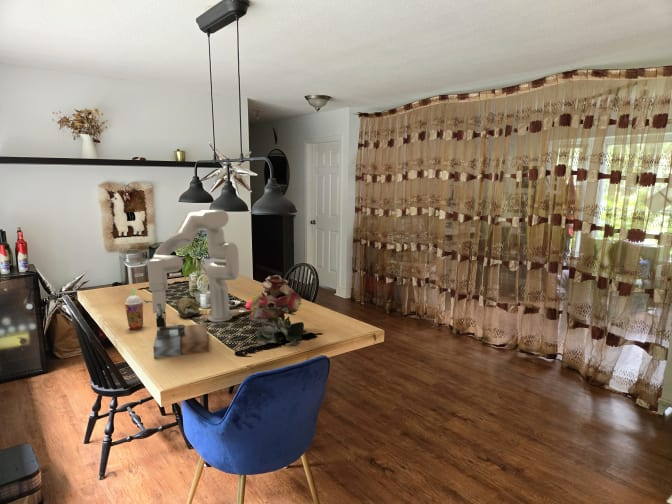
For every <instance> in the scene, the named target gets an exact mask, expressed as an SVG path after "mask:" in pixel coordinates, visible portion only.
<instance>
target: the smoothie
mask: <svg viewBox="0 0 672 504" xmlns="http://www.w3.org/2000/svg"><path fill="white" fill-rule="evenodd" d="M134 291H135V290H134V289H132V290H131V293H132V294H131V295H130V296H128V297H127V298H126V300H125V302H124V307H125V312H126V313H125V314H126V317H127V318H126V319H127V323H128V327H129V329H130V330H139V329H140V330H141V329H142V327H143V326H144V308H143V307H144V303H143V302H144V301H143V300H142V298H141V297H140V296H139V295H136V294H134V293H135V292H134Z"/></svg>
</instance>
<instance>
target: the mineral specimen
mask: <svg viewBox="0 0 672 504" xmlns="http://www.w3.org/2000/svg"><path fill="white" fill-rule="evenodd" d="M175 306H176V308H175V309H176V311H177V312H178V314H179V317H181V318H189V317H192V316H195V315H198V314H200V313H201V310H200V309H199V308H200V307H201V306H200V303H199V302H197V301H193V299H191V298H189V297H183V298H181V299H180V300H178V301H177V303H175Z"/></svg>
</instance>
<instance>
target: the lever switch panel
mask: <svg viewBox="0 0 672 504" xmlns="http://www.w3.org/2000/svg"><path fill="white" fill-rule="evenodd" d="M207 332H208V330H207V323H197V324H188V325H185V328H184V329H176V330H169V329H165V330H159V329H158V328H157V330H156V333H155V339H154V341H153V346H152V347H153V358H154V359H160V358H161V359H162V358H168V357H175V356H182V355H189V354H190V355H191V354H197V353H205V352H209V341H208V339H209V338H208V333H207Z"/></svg>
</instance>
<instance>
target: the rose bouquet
mask: <svg viewBox="0 0 672 504" xmlns="http://www.w3.org/2000/svg"><path fill="white" fill-rule="evenodd" d="M264 280H265V281H263V282H262V284H261V285H262V287H263V289H264V290H262V291H261V293H260V294H258V295H256V297H254V298H253V299H252V300H251V302H250V307H251V308H250V311H251V312H250V313H249V318H248V319H249V320H250V321H254V322H258V323H262V324H261V327H259V329H257V330H256V331H255V332H254V333H255V336H256V338H257V339H255V342H258V343H260V344H261V345H262V346H263V345H267V344H272V343H273V344H279V345H280V344H282V341H279V339H280V336H285V339H286V340H287V341H289V342H288V343H285V345H288V346H294V347H297V346H299V345H300V344H301V342H302V340H303V338H302V337H303V333H304V327H305V323H304V322H303V321H299V322H295V323H294V322H293V323H292V322H291V320H290V319H291V318H290V315H291V316H297V312H298V311H301V309H299V308H300V307H301V305H303V304H302V297H301V296H300V295H299V294H298V293H297V292H295V291H294V289H293V288H291V286H289V285H287V284H288V283H289V281H288V280H287V279H284V278H282V277H281V275H278V274H275V275H268V277H267V278H265V279H264ZM285 314H286V315H287V314H288V315H289V316H288V317H286V316H285ZM280 319H281V322H280ZM267 325H268V326H267Z"/></svg>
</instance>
